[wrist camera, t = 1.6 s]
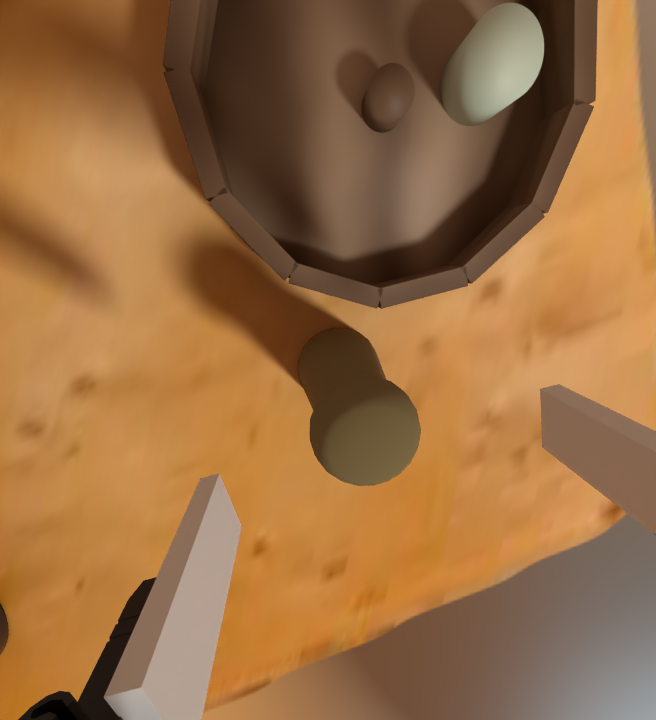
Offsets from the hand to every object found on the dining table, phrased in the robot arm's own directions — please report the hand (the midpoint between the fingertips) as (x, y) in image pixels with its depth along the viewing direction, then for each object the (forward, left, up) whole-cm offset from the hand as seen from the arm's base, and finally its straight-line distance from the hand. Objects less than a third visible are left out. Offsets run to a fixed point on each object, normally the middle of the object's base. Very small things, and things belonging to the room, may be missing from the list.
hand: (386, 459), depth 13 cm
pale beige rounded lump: (+11, +15, -11) cm, 22 cm away
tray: (+6, +15, -12) cm, 20 cm away
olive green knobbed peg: (0, 0, -12) cm, 12 cm away
